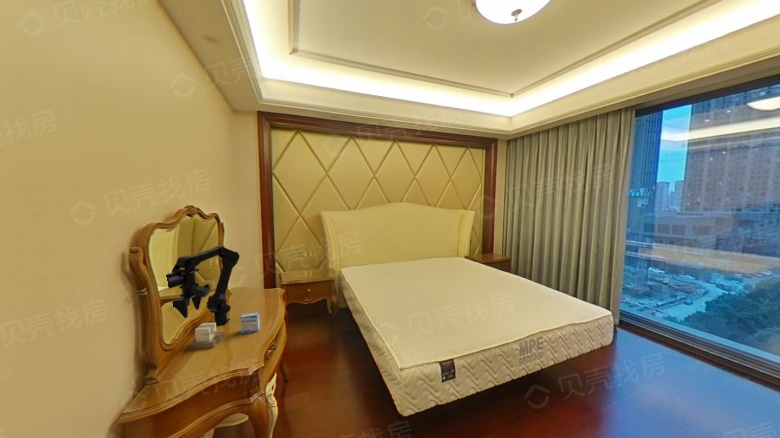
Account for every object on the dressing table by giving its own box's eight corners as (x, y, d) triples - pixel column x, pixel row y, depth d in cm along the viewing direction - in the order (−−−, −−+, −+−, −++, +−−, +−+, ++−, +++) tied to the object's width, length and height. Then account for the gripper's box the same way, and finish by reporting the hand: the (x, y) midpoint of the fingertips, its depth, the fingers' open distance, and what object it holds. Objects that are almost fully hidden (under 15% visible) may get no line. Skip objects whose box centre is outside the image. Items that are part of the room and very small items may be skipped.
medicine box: (241, 334, 137) (239, 317, 136) (243, 330, 141) (242, 313, 140) (258, 331, 139) (257, 315, 138) (260, 327, 143) (259, 311, 143)
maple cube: (203, 335, 132) (202, 323, 131) (217, 334, 132) (215, 322, 132) (196, 342, 126) (194, 329, 125) (209, 341, 127) (208, 328, 126)
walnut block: (202, 339, 134) (202, 333, 134) (224, 337, 135) (223, 331, 135) (190, 351, 124) (189, 344, 124) (213, 349, 125) (213, 342, 125)
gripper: (195, 287, 124) (198, 321, 126) (216, 275, 143) (219, 304, 145) (168, 289, 123) (172, 323, 125) (193, 276, 142) (196, 306, 143)
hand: (191, 313), depth 134 cm, fingers open, 9 cm apart
